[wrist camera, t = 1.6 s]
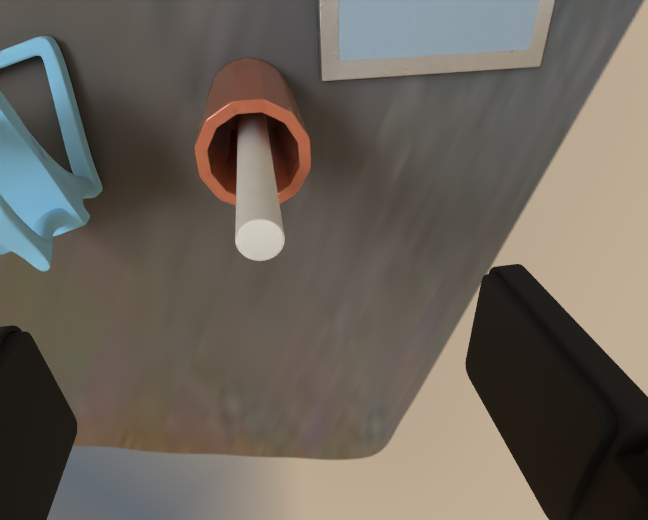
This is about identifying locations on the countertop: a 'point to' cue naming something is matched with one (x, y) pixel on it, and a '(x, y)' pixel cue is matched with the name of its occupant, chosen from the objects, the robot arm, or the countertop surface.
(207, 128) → the pen pot
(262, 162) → the stylus
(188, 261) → the countertop surface
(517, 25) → the plate
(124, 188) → the countertop surface
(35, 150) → the chair
